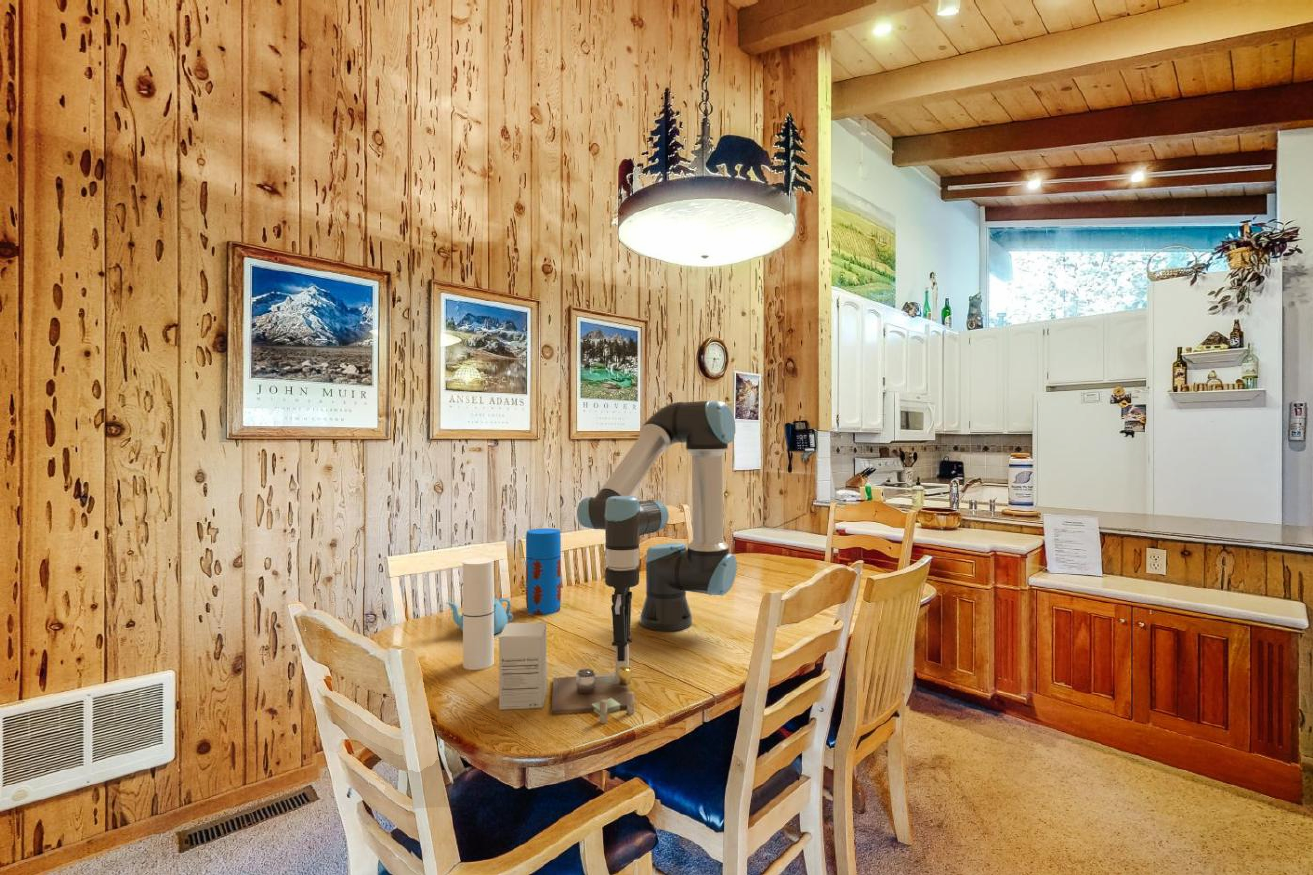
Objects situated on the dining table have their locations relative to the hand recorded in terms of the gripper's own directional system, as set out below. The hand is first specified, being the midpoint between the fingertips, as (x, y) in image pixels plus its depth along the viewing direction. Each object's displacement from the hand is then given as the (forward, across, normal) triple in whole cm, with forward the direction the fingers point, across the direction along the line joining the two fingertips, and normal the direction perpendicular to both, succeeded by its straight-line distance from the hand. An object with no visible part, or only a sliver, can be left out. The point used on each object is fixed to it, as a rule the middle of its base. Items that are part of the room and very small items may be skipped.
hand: (622, 673), depth 132 cm
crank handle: (+2, +4, -3) cm, 6 cm away
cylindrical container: (+3, -8, -37) cm, 38 cm away
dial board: (+3, +8, -5) cm, 10 cm away
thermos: (+3, -54, -34) cm, 64 cm away
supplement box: (+3, +9, -19) cm, 22 cm away
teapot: (+3, -32, -46) cm, 56 cm away
